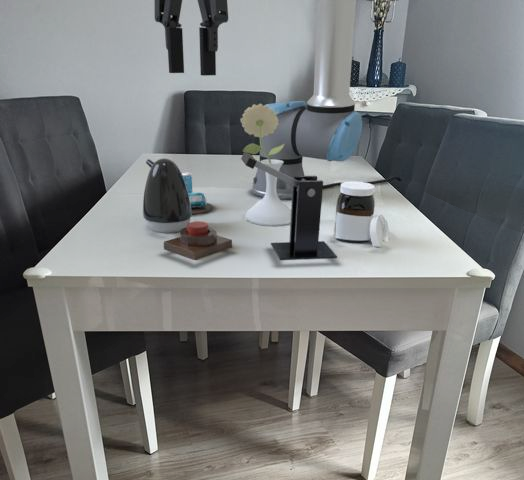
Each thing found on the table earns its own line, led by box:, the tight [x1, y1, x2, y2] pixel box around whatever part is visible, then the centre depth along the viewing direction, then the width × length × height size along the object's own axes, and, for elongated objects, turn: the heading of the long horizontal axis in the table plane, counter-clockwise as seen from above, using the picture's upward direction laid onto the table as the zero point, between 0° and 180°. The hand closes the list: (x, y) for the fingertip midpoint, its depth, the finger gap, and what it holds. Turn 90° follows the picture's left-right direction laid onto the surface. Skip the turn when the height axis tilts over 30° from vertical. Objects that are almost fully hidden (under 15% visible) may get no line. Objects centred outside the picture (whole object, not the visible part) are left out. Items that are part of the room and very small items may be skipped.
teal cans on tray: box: [180, 171, 213, 216], centre depth 127 cm, size 12×12×8 cm
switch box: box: [163, 226, 233, 261], centre depth 100 cm, size 10×8×4 cm
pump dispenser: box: [142, 157, 193, 234], centre depth 109 cm, size 10×10×15 cm
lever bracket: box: [270, 175, 338, 261], centre depth 98 cm, size 11×9×15 cm
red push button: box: [187, 221, 209, 235], centre depth 99 cm, size 4×4×2 cm
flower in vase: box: [240, 103, 291, 227], centre depth 114 cm, size 13×11×25 cm
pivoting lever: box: [240, 152, 307, 190], centre depth 93 cm, size 14×6×2 cm, turn 99°
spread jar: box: [333, 181, 390, 248], centre depth 107 cm, size 12×11×12 cm
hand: (192, 73), depth 86 cm, fingers open, 7 cm apart
